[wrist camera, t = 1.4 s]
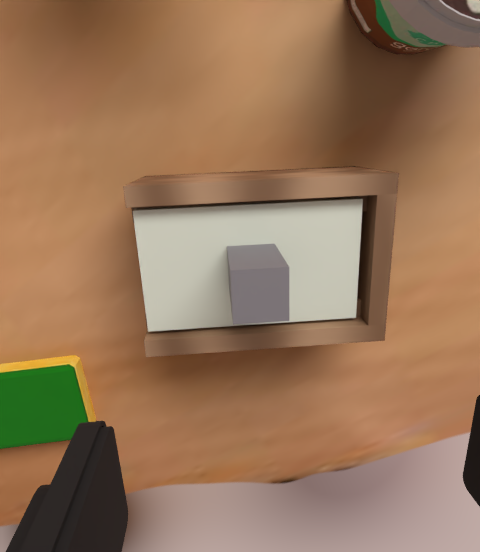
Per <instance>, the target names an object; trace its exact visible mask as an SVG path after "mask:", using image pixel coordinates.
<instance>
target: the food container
mask: <svg viewBox="0 0 480 552" xmlns="http://www.w3.org/2000/svg"><path fill="white" fill-rule="evenodd" d="M347 3H348V7H349V11H350V13H351V15H352V17H353V18H354V20H355V22H356V24H357V26H358V27H359V29H360V31H361V33H362V34H364V35H365V36H366V37H367V38H368V39H369V40H370V41H371V42H372V43H374V44H375V45H376V46H377V47H379V48H382V49H384V50H387V51H389V52H392V53H395V54H415V53H420V52H424V51H427V50H431V49H434V48H438V47H441V46H445V45H452V46H459V47H480V0H347Z"/></svg>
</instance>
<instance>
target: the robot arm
mask: <svg viewBox="0 0 480 552" xmlns="http://www.w3.org/2000/svg"><path fill="white" fill-rule="evenodd" d="M463 481H464V484H465V486H466V488H467V490H468V492H469V493H470V494H471V496H472V497H473V498H474V500H475V501H476V502H477V504H478V505H479V506H480V395H479V396H478V397H477V400H476V405H475V411H474V416H473V422H472V427H471V433H470V439H469V444H468V450H467V455H466V461H465V466H464V472H463ZM127 521H128V508H127V502H126V496H125V490H124V485H123V479H122V473H121V467H120V462H119V456H118V450H117V445H116V439H115V433H114V429H113V427H112V426H110V427H106V424H105V422H104V421H96V422H84V423H80V424H78V426H77V428H76V430H75V432H74V434H73V437H72V439H71V441H70V443H69V445H68V448H67V450H66V452H65V454H64V456H63V458H62V461H61V463H60V465H59V467H58V469H57V471H56V474H55V476H54V478H53V480H52V482H51V485H42V486H40V487H39V488H38V489H37V491H36V492H35V494H34V496H33V498H32V500H31V502H30V504H29V506H28V508H27V510H26V512H25V514H24V516H23V518H22V520H21V522H20V524H19V526H18V528H17V530H16V532H15V534H14V536H13V538H12V540H11V542H10V545H9V546H8V548H7V550H6V552H121V551H122V546H123V542H124V537H125V532H126V527H127Z"/></svg>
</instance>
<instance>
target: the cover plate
mask: <svg viewBox="0 0 480 552" xmlns="http://www.w3.org/2000/svg"><path fill="white" fill-rule="evenodd" d="M362 206H363V199H362V198H359V197H353V198H334V199H314V200H295V201H275V202H256V203H236V204H217V205H197V206H178V207H158V208H139V209H134V210H133V218H134V225H135V233H136V241H137V249H138V257H139V264H140V272H141V280H142V288H143V295H144V303H145V311H146V319H147V327H148V332H150V331H165V330H180V329H195V328H210V327H225V326H240V325H255V324H270V323H285V322H300V321H315V320H330V319H345V318H356V309H357V292H358V275H359V258H360V240H361V223H362Z"/></svg>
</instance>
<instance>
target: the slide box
mask: <svg viewBox="0 0 480 552" xmlns="http://www.w3.org/2000/svg"><path fill="white" fill-rule="evenodd" d="M398 176H399V173H395V172H388V171H382V170H375V169H368V168H362V167H355V166H354V167H332V168H311V169H290V170H269V171H248V172H227V173H205V174H184V175H163V176H145V177H142V178H140V179H138V180H136V181H134V182H132V183H130V184H127V185H125V186H123V188H124V196H125V203H126V208H129V207H132V214H133V210H134V209H139V208H158V207H178V206H197V205H217V204H236V203H256V202H275V201H295V200H314V199H334V198H353V197H359V198H362V199H363V206H362V223H361V240H360V258H359V275H358V292H357V309H356V318H345V319H330V320H315V321H300V322H285V323H270V324H255V325H240V326H225V327H210V328H195V329H180V330H165V331H150V332H148V331H147V333H146V336H145V339H144V345H145V353H146V357H157V356H171V355H185V354H200V353H214V352H228V351H242V350H257V349H271V348H285V347H300V346H314V345H328V344H342V343H357V342H371V341H385V329H386V317H387V306H388V294H389V282H390V270H391V259H392V247H393V235H394V223H395V212H396V200H397V188H398ZM133 222H134V218H133ZM145 315H146V314H145ZM146 323H147V319H146ZM147 330H148V327H147Z"/></svg>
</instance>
